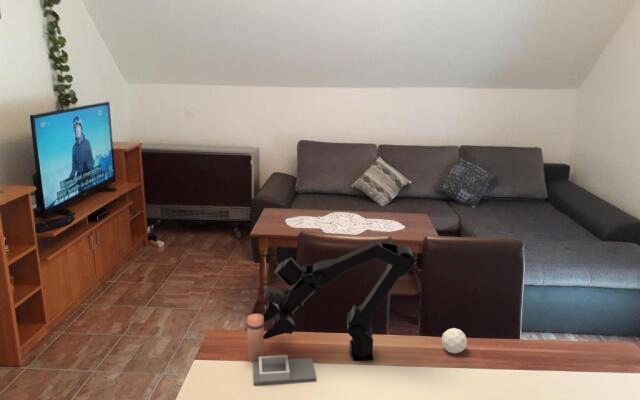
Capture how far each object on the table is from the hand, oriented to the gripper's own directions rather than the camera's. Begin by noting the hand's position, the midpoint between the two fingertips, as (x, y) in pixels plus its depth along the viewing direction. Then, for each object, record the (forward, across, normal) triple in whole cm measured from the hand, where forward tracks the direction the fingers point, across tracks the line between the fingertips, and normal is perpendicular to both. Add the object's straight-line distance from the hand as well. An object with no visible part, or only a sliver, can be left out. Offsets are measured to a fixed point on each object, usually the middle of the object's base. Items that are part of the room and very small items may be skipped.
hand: (261, 330), depth 155 cm
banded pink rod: (+8, 0, +5) cm, 10 cm away
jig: (+3, +9, +10) cm, 14 cm away
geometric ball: (-36, +8, +49) cm, 62 cm away
